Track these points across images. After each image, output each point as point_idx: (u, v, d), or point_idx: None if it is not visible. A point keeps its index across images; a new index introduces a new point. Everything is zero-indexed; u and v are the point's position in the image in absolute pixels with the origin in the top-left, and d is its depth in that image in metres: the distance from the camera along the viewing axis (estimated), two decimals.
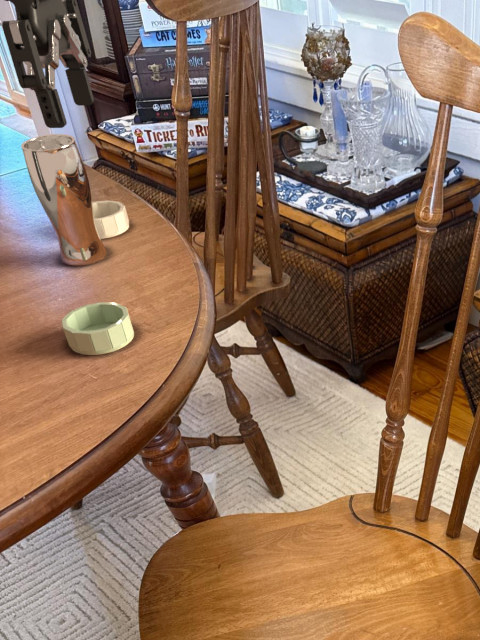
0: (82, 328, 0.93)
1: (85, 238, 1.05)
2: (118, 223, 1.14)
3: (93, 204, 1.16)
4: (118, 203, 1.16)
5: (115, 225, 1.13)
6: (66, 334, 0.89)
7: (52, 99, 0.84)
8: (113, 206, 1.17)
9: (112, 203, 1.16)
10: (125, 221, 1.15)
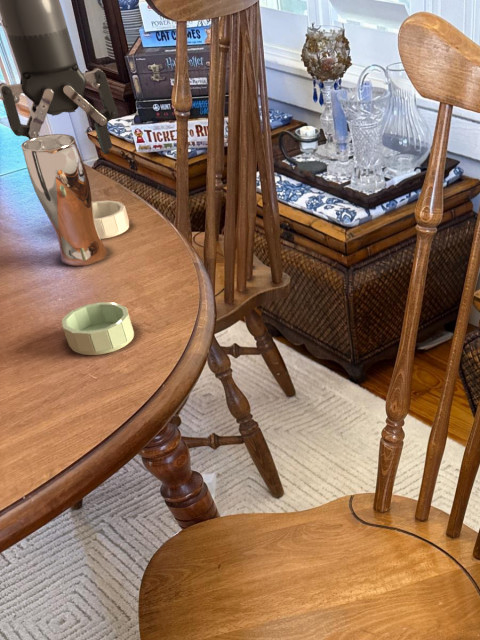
0: (82, 328, 0.93)
1: (85, 238, 1.05)
2: (118, 223, 1.14)
3: (93, 204, 1.16)
4: (118, 203, 1.16)
5: (115, 225, 1.13)
6: (66, 334, 0.89)
7: None
8: (113, 206, 1.17)
9: (112, 203, 1.16)
10: (125, 221, 1.15)
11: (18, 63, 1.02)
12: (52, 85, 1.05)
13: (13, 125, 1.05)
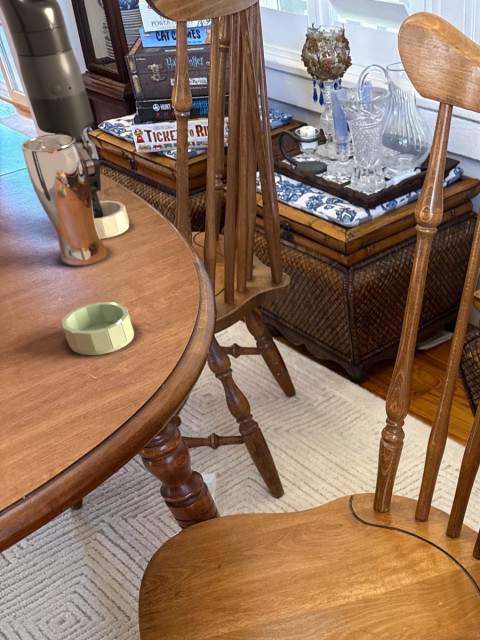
0: (82, 328, 0.93)
1: (85, 238, 1.05)
2: (117, 223, 1.14)
3: None
4: (118, 203, 1.16)
5: (115, 225, 1.13)
6: (66, 334, 0.89)
7: None
8: (113, 206, 1.17)
9: (112, 203, 1.16)
10: (125, 221, 1.15)
11: (79, 121, 1.06)
12: None
13: (100, 184, 1.12)
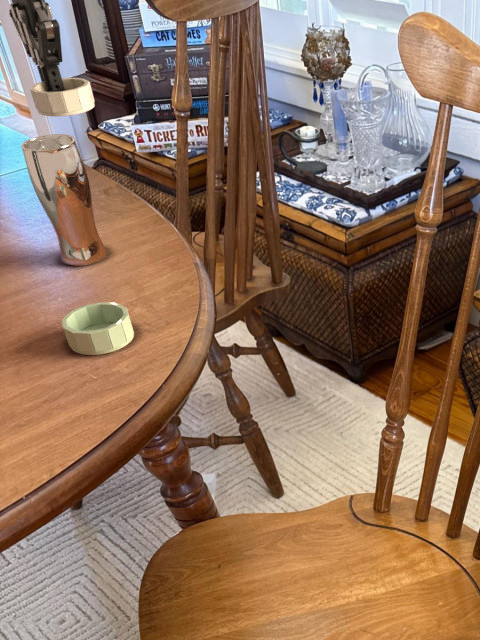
0: (82, 328, 0.93)
1: (85, 238, 1.05)
2: (81, 99, 1.03)
3: None
4: (82, 79, 1.05)
5: (78, 101, 1.02)
6: (66, 334, 0.89)
7: None
8: (77, 84, 1.06)
9: (76, 80, 1.05)
10: (90, 98, 1.04)
11: None
12: None
13: None
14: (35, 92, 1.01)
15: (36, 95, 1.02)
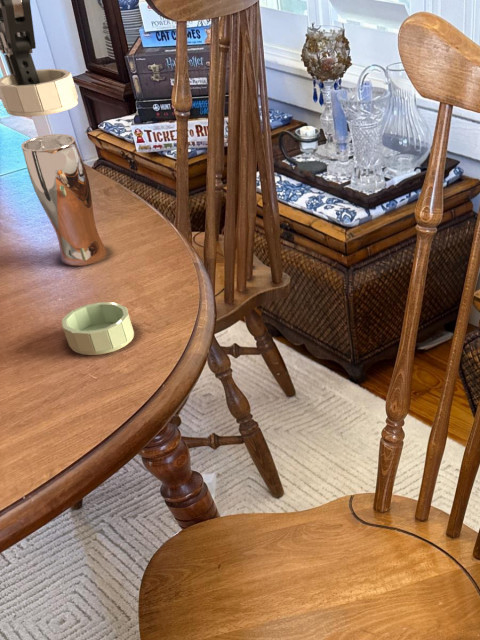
0: (82, 328, 0.93)
1: (85, 238, 1.05)
2: (60, 94, 0.81)
3: None
4: (62, 71, 0.84)
5: (57, 96, 0.81)
6: (66, 334, 0.89)
7: None
8: (56, 76, 0.84)
9: (54, 71, 0.84)
10: (72, 93, 0.83)
11: None
12: None
13: None
14: (2, 86, 0.80)
15: (3, 90, 0.80)
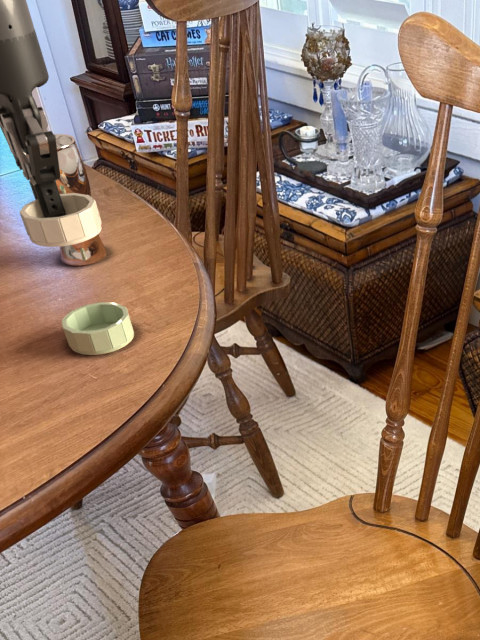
0: (82, 328, 0.93)
1: None
2: (84, 225, 0.81)
3: None
4: (87, 197, 0.83)
5: (80, 227, 0.80)
6: (66, 334, 0.89)
7: None
8: (80, 201, 0.84)
9: (78, 197, 0.83)
10: (95, 222, 0.82)
11: (25, 77, 0.73)
12: None
13: None
14: (25, 218, 0.79)
15: (26, 221, 0.80)
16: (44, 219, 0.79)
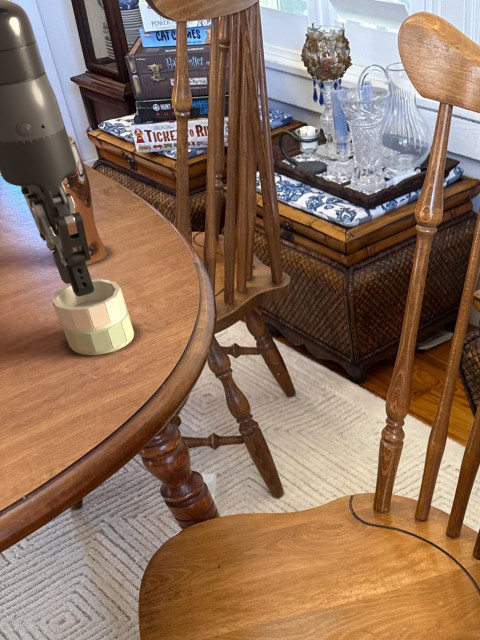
0: None
1: None
2: (110, 312, 0.88)
3: None
4: (113, 284, 0.90)
5: (106, 315, 0.87)
6: (66, 334, 0.89)
7: None
8: (107, 287, 0.91)
9: (105, 283, 0.90)
10: (120, 308, 0.89)
11: (56, 170, 0.79)
12: None
13: (88, 250, 0.84)
14: (57, 306, 0.86)
15: (58, 309, 0.87)
16: (74, 308, 0.86)
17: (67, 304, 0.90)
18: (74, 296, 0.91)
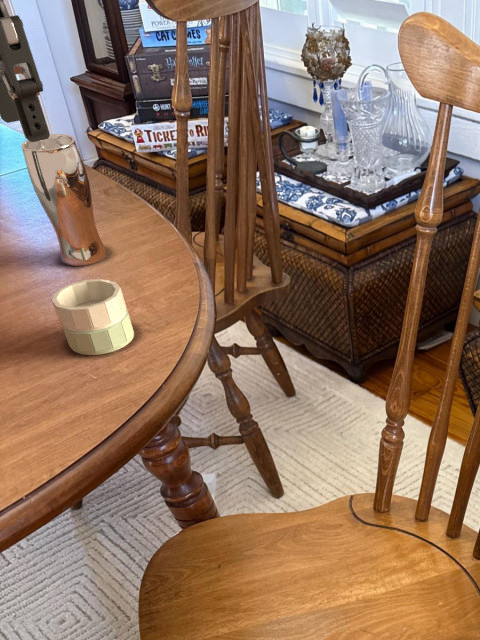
0: None
1: (85, 238, 1.05)
2: (110, 312, 0.88)
3: (81, 284, 0.91)
4: (113, 284, 0.90)
5: (106, 315, 0.87)
6: (66, 334, 0.89)
7: None
8: (107, 287, 0.91)
9: (105, 283, 0.90)
10: (120, 308, 0.89)
11: None
12: None
13: None
14: (57, 306, 0.86)
15: (58, 309, 0.87)
16: (74, 308, 0.86)
17: (67, 304, 0.90)
18: (74, 296, 0.91)
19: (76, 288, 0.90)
